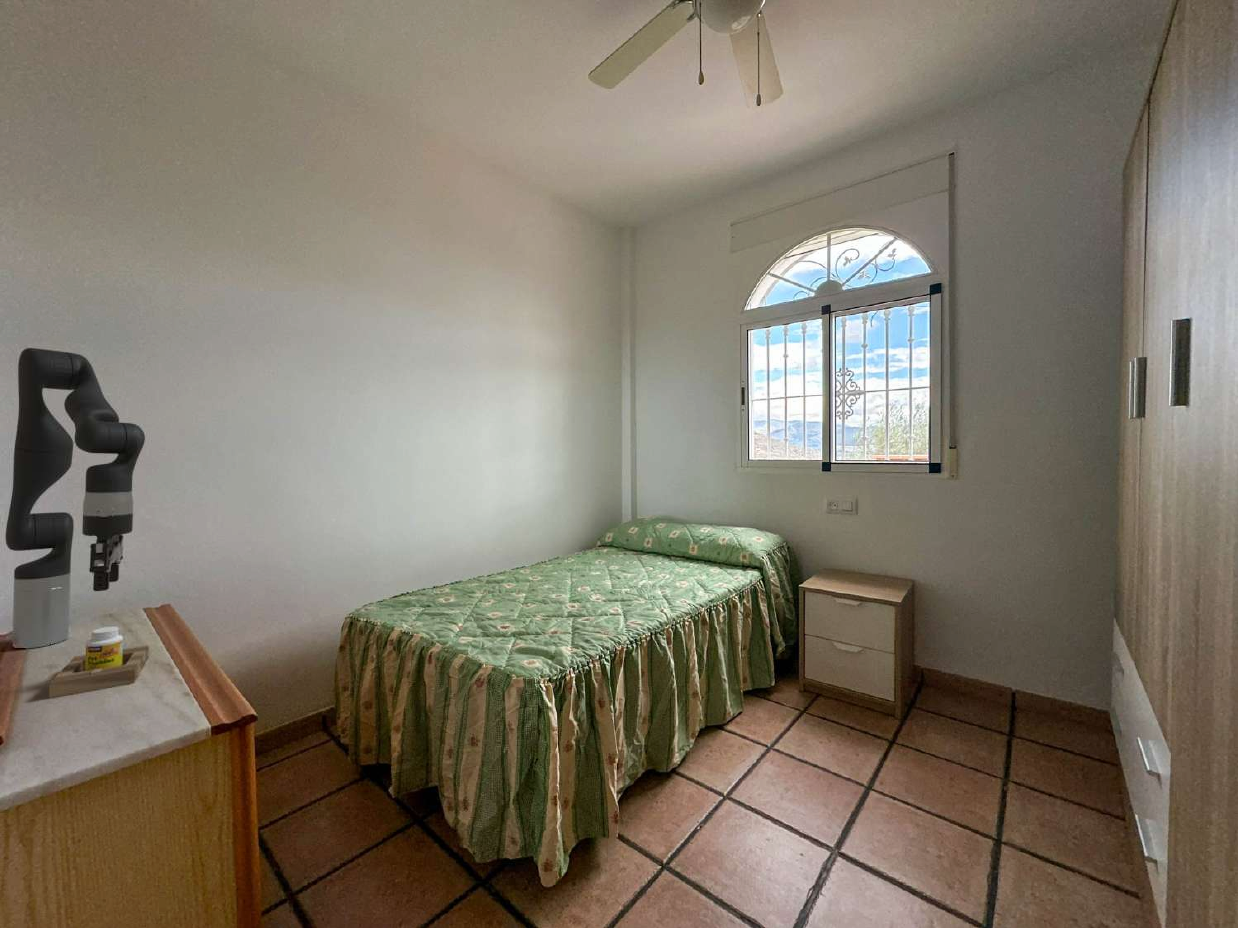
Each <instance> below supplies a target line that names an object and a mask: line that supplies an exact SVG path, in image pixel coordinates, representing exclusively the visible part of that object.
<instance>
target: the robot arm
mask: <svg viewBox="0 0 1238 928" xmlns="http://www.w3.org/2000/svg"><path fill="white" fill-rule="evenodd" d="M17 365H18V369H17V381H18V383H17V384H18V386H17V387H18V416H17V417H18V418H17V426H16V434H15V440H14V447H13V448H14V449H13V450H14V451H13V471H12V473H13V474H12V476H13V477H12V478H13V479H12V491H11V492H12V493H11V498H10V504H9V511H8V516H7V521H6V529H5V544H6V546H7V547H8V548H7V549H9V550H10V551H14V552H17V551H18V552H20V551H21V552H23V551H33V550H34V551H35V550H46V549H49V550H50V549H51V551H50V552H48V553H47V554H45V555H44V556H41V557H40V558H38V559H35V560H32V561H29V562H25V563H22V564H19V565H17V566H16V567H15V568H14V572H13V599H12V600H13V607H12V608H13V610H12V633H11V634H12V635H11V636H12V637H11V638H12V640H11V644H12V643H14V644H19V645H23V646H24V647H26V649H34V648H40V647H46V646H50V644H51V645H55V644H58V643H61V642H64V641H66V640H68V639H69V631H70V630H69V629H70V627H69V626H70V605H71V604H70V603H71V602H70V601H71V600H70V599H71V564H72V563H71V562H72V548H73V547H72V546H73V538H74V529H75V528H74V526H75V525H74V518H73V517H72V514H70V513H68V512H63V511H62V512H61V511H57V512H39V513H37V512H35V513H34V512H33V513H32V510H33V507H34V506H35V504H36V503H37V501H38V500H39V499H40V498H41V496H42V495H43V494H44V493H46V491H48V489H50V488H51V487H52V486H53V485H54V484H56V483H57V482H58V481H59V480H60V479H61V478H63V477H64V476H65V475H66V473H68V472H69V470H70V469H71V466H72V460H73V453H74V443H75V446H76V447H77V448H78V449H79V450H81V451H83V452H86V453H88V454H89V453H90V454H102V455H103V454H105V455H106V454H109V455H111V454H113V455H114V454H116V455H117V456H116V457H115V459H114V460H113V461H111V462H107V463H101V464H100V463H99V464H96V465H95V464H94V465H91V466H89V467H87V469H86V471H85V490H84V491H85V493H84V498H83V504H82V535H84V536H87V537H96V542H95V543H91V544H90V546H89V547H90V553H89V554H90V555H89V556H90V557H89V559H90V560H89V569H88V571H89V573H91V574H92V575H93V583H92V584H93V587H92V588H93V592H105V591H108V590H109V589H110V583H115V582H117V581H119V578H120V564H121V563H122V560H123V559H124V556H123V555H124V554H123V551H124V550H123V549H124V543H123V539H124V535H128V534H130V533H132V532H133V523H134V499H133V476H134V475H133V474H134V470H135V467H136V464H137V462H138V458H139V456H140V454H141V452H142V449H143V448H144V445H145V441H146V436H145V433H144V431H143V429H142V428H141V426H140V425H137V424H134V423H131V422H120V418H119V415H118V413H117V412H116V410H115V409H114V408H113V406H111V404H110V403H109V402H108V400H107V399H106V398H105V396H104V394H103V391H102V388H101V385H100V383H99V380H98V378H97V374H96V373H95V370H94V368H93V366H92V364H91V362H90V361H89V360H88V359H87V358H86V356H83V355H82V354H79V353H73V352H67V351H59V350H52V349H51V350H50V349H43V348H36V347H35V348H34V347H28V348H24V349H23V350H22V351H21V352H20V355H19V359H18V364H17ZM43 389H48V390H49V389H50V390H51V389H52V390H62V391H71V392H70V393H68V395H67V396H66V398H65V399H64V403H63V404H64V407H63V408H64V409H65V413H66V414H67V416H68V417H69V418H70V420H71V422H73V425H74V428H75V431H74V441H73V438H72V437H71V435H70V433H69V432H68V431H67V430H66V428H64V426H63V425H62V424H61V423H60V422H59V421H58V420H57V419H56V418H55V416H54V415H53V414H52V413H51V411H50V409H49V408H48V406H47V404H46V403H45V400H44V395H43ZM67 638H68V639H67ZM65 639H66V640H65ZM63 640H64V641H63ZM54 643H55V644H54Z"/></svg>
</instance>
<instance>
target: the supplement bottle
mask: <svg viewBox="0 0 1238 928" xmlns="http://www.w3.org/2000/svg"><path fill="white" fill-rule="evenodd" d="M123 649H124V637H123V636H122V635H121V634H119V627H118V626H107V627H101V628H97V629H94V630H92V631H91V639H89V640H88V641H86V643H85V655H86V658H85V671H89V670H95V669H102V668H108V667H114V666H120V665H122V654H123Z"/></svg>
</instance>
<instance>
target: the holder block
mask: <svg viewBox="0 0 1238 928" xmlns="http://www.w3.org/2000/svg"><path fill="white" fill-rule="evenodd" d="M149 657H150V645H149V644H148V645H143V646H136V647H130V648H129V647H128V648H123V654H122V665H120V666H114V667H108V668H102V669H95V670H89V671H85V658H86V654H83V655H82V654H81V655H76V656H74V657H73V658H71V660H70V661H69V662H68V663H67V664H66V665H65V667H63V668H62V669H61V671H60V672H58V673H57V674H56V675H55V677H53V678H52V680H51V681H50V682H49V686H48V687H49V688H48V689H49V690H48V691H49V692H48V699H53V698H59V697H64V696H70V695H76V694H80V693H87V692H92V691H97V690H104V689H109V688H113V687H119V686H120V687H121V686H125V685H130V684H135V682H136V681H137V680H138V677H140V674H141V672H142V670H143V668H144V667H145V665H146V663H147V661H148V660H149Z"/></svg>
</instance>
